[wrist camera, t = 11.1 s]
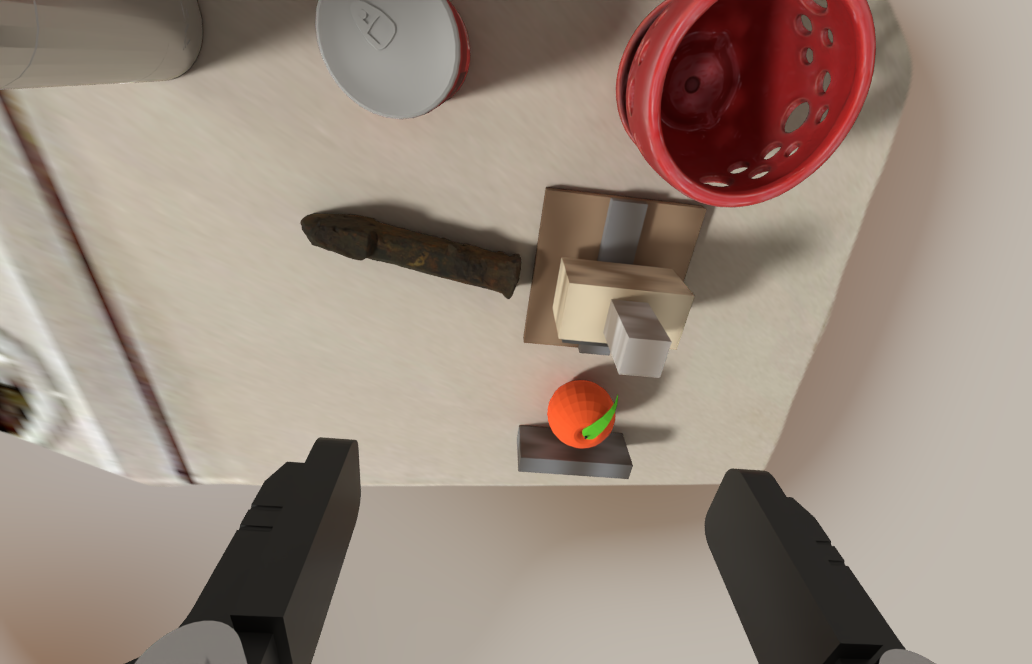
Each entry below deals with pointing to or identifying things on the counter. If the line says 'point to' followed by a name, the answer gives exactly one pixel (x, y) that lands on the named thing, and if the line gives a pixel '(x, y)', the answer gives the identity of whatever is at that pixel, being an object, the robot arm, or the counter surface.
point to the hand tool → (413, 251)
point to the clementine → (581, 414)
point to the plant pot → (743, 91)
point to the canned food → (394, 52)
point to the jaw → (622, 311)
